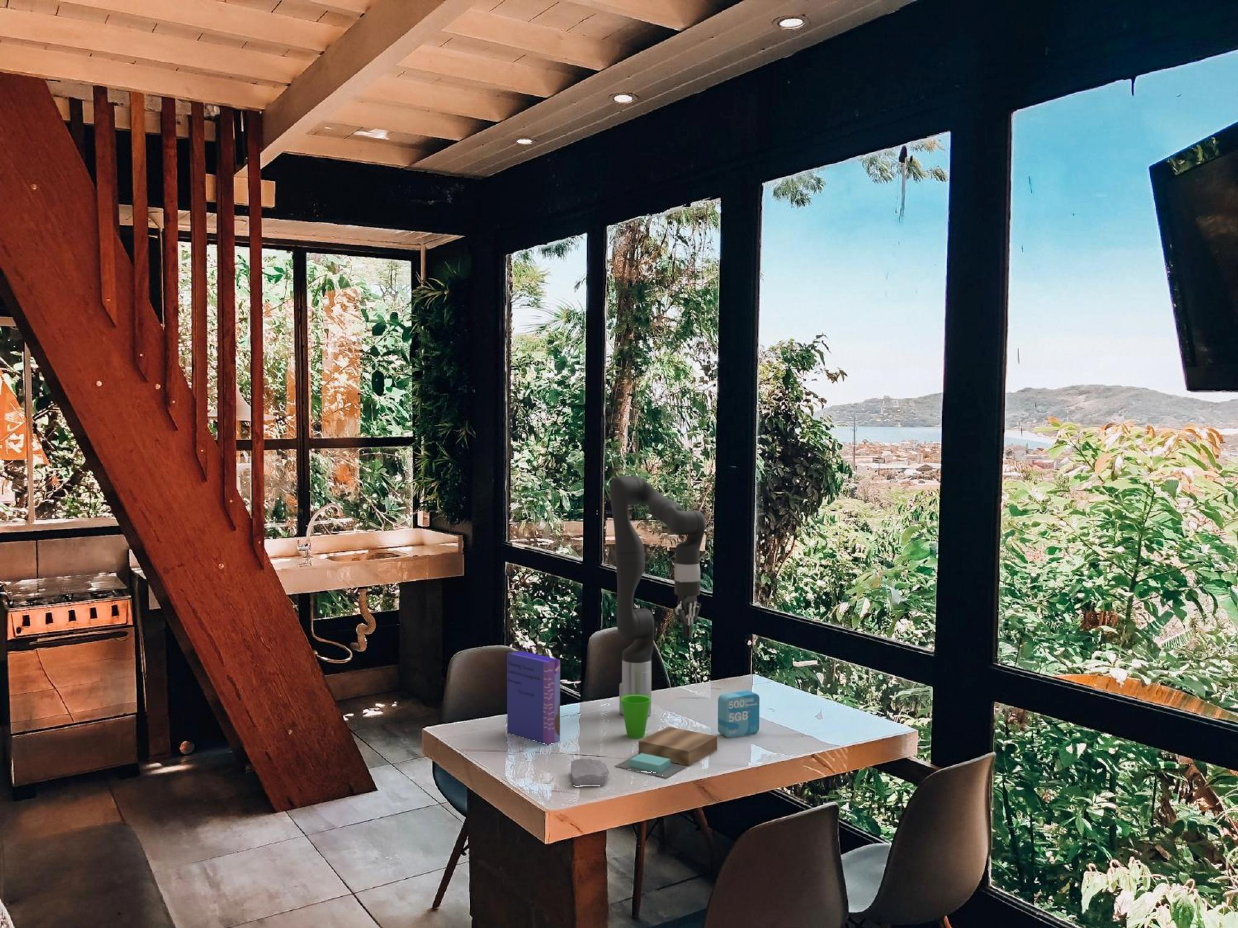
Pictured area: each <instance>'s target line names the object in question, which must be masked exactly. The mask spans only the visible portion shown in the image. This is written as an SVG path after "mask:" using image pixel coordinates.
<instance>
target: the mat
mask: <svg viewBox="0 0 1238 928" xmlns="http://www.w3.org/2000/svg"><path fill="white" fill-rule="evenodd" d="M635 756H637V755H634V756H632V757H630V758H627V759H625V760H624V761H622V762H620V763H618V764H615V765H614V767H615V766H618V767H621V768H620V769H622V768H626V769H625V770H627V769H631V770H634V771H633V772H635V771H639V772H638V773H640V772H641V771H647V770H643V769H638V768H634V767H630V759H631V758H633V757H635ZM618 767H617V768H618ZM684 768H685V769H686V768H687V766H685V765H681V764H676V763H672V762H671V767H669V768H667V769H665V770H664V771H662V772H660V773H653V772H651V771H647V772H651V773H648V774H652V775H657V776H659V777H658V778H661V777H664V778H663V779H665V778H667V777H669V778H670V777H672V776H674V775H675V773H676V774H678V773H679V772H681V771H683V770H685V769H684ZM682 769H683V770H682ZM631 770H630V771H631ZM677 772H678V773H677ZM648 774H647V775H648ZM673 774H674V775H673ZM652 775H651V776H652ZM662 775H663V776H662ZM671 775H672V776H671ZM657 776H656V777H657ZM667 779H668V778H667Z"/></svg>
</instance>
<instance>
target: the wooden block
mask: <svg viewBox="0 0 1238 928" xmlns="http://www.w3.org/2000/svg"><path fill="white" fill-rule="evenodd" d="M637 743H638V746H637V747H638V753H637V754H638V755H639V754H641V753H644V754H649V755H653V756H658V757H663V758H667V759H671V763H672V762H673V763H672V764H676V763H679V764H678V765H680V766H685V767H690V766H692V765H694V764H695V763H697V762H699V761H701V760H702V759H705V758H706V757H708V756H710V755H711V754H713V753H715V752H717V751H718V736H717V735H714V734H710V733H704V732H698V731H695V730H694V731H693V730H687V729H684V728H677V727H673V726H666V727H665V728H662V729H660V730H658V731H656V732H654V733H652V734H650V735H648V736H646V737H645V736H644V737H642V739H641V738H640V739H639V740H638V742H637ZM693 763H694V764H693Z"/></svg>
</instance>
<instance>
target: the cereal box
mask: <svg viewBox="0 0 1238 928" xmlns="http://www.w3.org/2000/svg"><path fill="white" fill-rule="evenodd" d="M506 656H507V657H506V671H507V672H506V684H507V685H506V687H507V688H506V698H507V699H506V712H507V713H506V720H507V721H506V724H507V725H506V733H507V734H509V733H510V735H512V734H514V735H513V736H516V737H519V736H520V737H519V738H522V737H524V738H523V739H525V738H526V739H527V740H528V739H530V740H529V741H532V740H535V741H537V742H536V743H538V742H541V743H545V744H547V745H546V746H550V745H549V744H551V743H555V742H558V741H560V742H561V659H558V658H554V657H550V656H545V655H540V654H536V653H533V652H528V651H522V650H512V651H510V652H507V653H506ZM526 739H525V740H526ZM535 741H534V742H535ZM541 743H540V744H541ZM558 743H559V742H558ZM555 744H556V743H555ZM551 745H552V744H551Z"/></svg>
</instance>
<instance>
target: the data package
mask: <svg viewBox="0 0 1238 928" xmlns="http://www.w3.org/2000/svg"><path fill="white" fill-rule="evenodd" d="M760 700H761V699H760V695H759V694H758V693H756V692H754V691H751V690H741V691H733V692H727V693H722V694H720V695H719V696H718V698H717V731H718V734H720V735H722V736H724V737H726V738H727V739H731V738H738V737H743V736H750V735H755V734H757V733H758V732H759V731H760Z"/></svg>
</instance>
